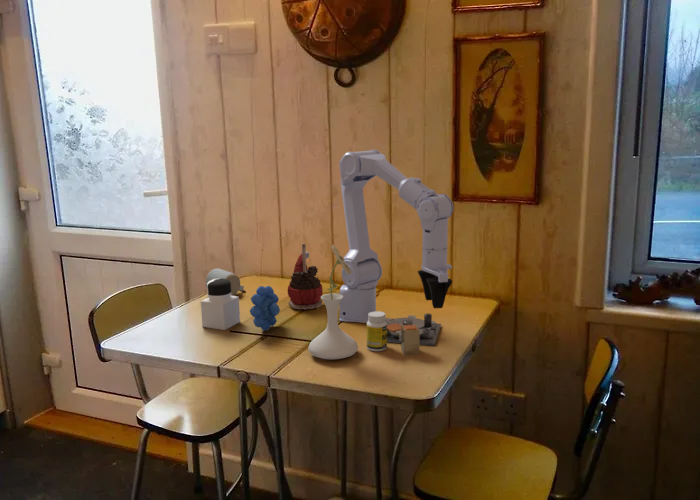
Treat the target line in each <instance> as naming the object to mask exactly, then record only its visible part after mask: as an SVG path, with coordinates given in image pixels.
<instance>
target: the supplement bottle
mask: <svg viewBox="0 0 700 500" xmlns="http://www.w3.org/2000/svg"><path fill="white" fill-rule="evenodd" d="M386 318H387V317H386V313H385V312H383V311H379V310H378V311H377V310H376V311H375V312H370V313H369V314H368V320H369V321H368V322H367V323H366V348H367V350H369V351H371V352H383V351H385V350H386V349H387V348H388V342H387V322H386V321H385V319H386Z"/></svg>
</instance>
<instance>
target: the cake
mask: <svg viewBox="0 0 700 500" xmlns="http://www.w3.org/2000/svg"><path fill="white" fill-rule="evenodd" d="M301 248H302V249H301V253H300V255H299V256H298V257H297V260H296V262H295V264H294V269H293V272H292V275H291V276H290V277H291V280H290V281H289V284H288V286H287V295H288V298H290V299H289V302H288V306H289V307H291V308H292V309H295V310H296V309H297V310H303V309H304V310H312V309H315V308H316V309H317V308H319V307H322V306H323V304H324V301H323V300H322V299H321V296H322V295H324V293H323V285H322V283H321V280H320V279H319V278H318V277H316V276H317V274H318V273H319V272H318V267H317V266H315V265H311V266H308V264H307V259H309V257H310V253H309V252H308V251H306V250H307V249H306V248H307V247H306V243H302V244H301Z"/></svg>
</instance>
